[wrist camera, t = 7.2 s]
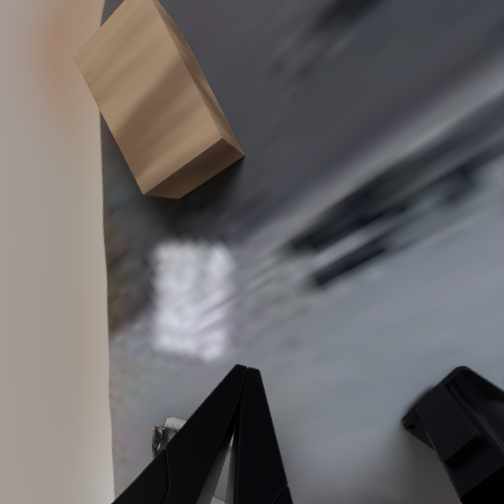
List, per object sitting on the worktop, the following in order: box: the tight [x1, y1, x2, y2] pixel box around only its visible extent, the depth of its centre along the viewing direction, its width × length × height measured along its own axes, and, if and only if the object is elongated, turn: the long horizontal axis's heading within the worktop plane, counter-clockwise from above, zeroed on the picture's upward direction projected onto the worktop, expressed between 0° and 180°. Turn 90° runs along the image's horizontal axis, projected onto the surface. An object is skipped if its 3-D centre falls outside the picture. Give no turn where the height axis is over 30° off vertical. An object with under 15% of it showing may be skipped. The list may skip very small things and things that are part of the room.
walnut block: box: [74, 0, 245, 199], centre depth 18 cm, size 5×7×11 cm
